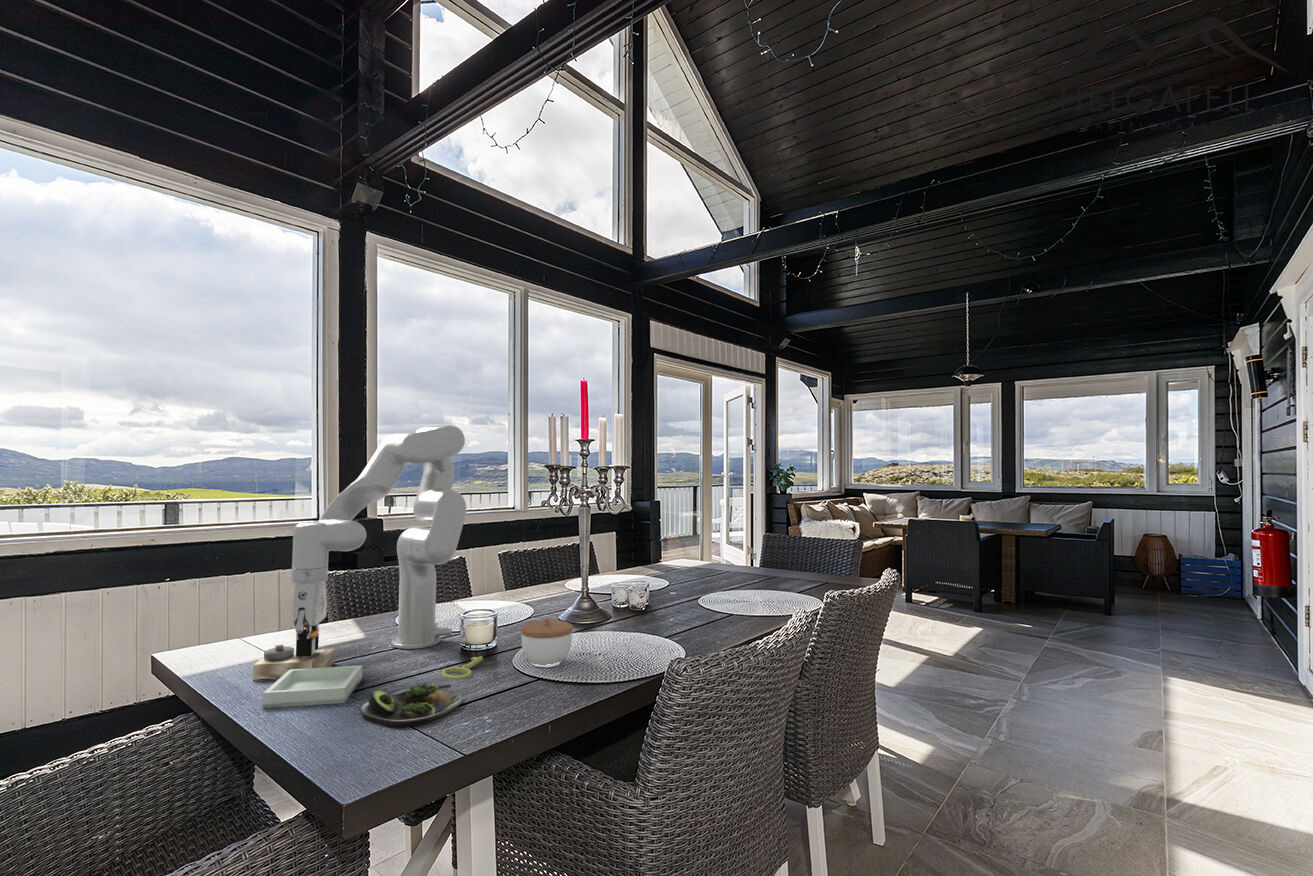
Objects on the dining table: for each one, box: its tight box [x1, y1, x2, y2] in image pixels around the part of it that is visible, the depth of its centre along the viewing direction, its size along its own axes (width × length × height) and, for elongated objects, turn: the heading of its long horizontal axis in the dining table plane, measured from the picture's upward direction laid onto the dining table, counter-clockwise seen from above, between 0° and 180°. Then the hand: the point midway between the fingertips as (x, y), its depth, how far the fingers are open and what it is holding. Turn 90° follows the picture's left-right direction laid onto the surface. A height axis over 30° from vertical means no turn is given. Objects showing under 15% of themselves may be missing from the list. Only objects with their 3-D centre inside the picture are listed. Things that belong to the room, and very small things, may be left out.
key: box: [441, 655, 484, 680], centre depth 150 cm, size 7×12×2 cm, turn 179°
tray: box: [262, 665, 363, 709], centre depth 134 cm, size 15×15×3 cm
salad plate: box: [356, 682, 463, 729], centre depth 127 cm, size 19×18×5 cm
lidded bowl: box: [520, 617, 574, 665], centre depth 155 cm, size 13×13×11 cm
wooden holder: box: [252, 644, 335, 681], centre depth 148 cm, size 14×10×6 cm
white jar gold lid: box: [299, 630, 319, 659], centre depth 148 cm, size 4×4×9 cm
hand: (307, 652), depth 148 cm, fingers closed on white jar gold lid, 4 cm apart
